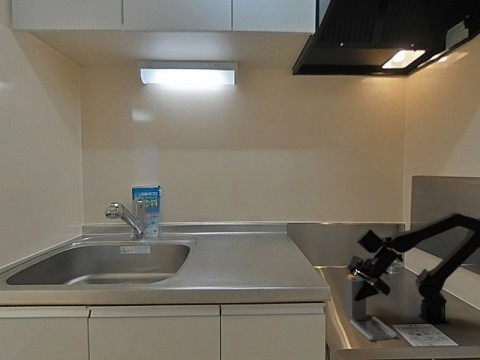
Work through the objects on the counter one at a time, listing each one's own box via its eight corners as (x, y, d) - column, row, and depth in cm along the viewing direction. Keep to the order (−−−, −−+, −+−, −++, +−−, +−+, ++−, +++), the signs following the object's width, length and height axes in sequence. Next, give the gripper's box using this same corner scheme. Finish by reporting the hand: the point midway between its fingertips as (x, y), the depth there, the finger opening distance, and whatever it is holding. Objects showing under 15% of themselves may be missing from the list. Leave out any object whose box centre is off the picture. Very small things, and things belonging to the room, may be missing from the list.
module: (358, 312, 112) (357, 272, 112) (366, 319, 107) (365, 277, 107) (344, 314, 112) (344, 273, 111) (352, 320, 107) (351, 278, 106)
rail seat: (374, 321, 106) (374, 316, 106) (396, 337, 95) (396, 332, 95) (350, 323, 104) (350, 319, 104) (369, 340, 94) (369, 335, 94)
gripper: (351, 241, 119) (323, 273, 117) (381, 254, 101) (349, 291, 99) (371, 261, 120) (343, 293, 119) (404, 277, 102) (372, 315, 100)
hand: (351, 297), depth 109 cm, fingers closed on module, 5 cm apart
